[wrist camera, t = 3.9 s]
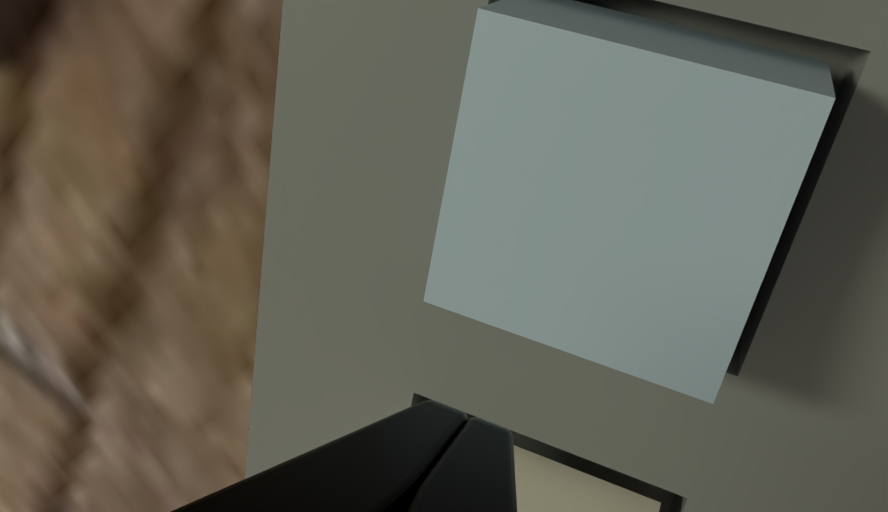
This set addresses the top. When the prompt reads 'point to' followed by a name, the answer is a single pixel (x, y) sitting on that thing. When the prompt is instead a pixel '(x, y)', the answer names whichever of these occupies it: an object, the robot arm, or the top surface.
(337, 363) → the keypad
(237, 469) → the top surface
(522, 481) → the cream key
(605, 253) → the slate key
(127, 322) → the top surface
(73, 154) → the top surface
